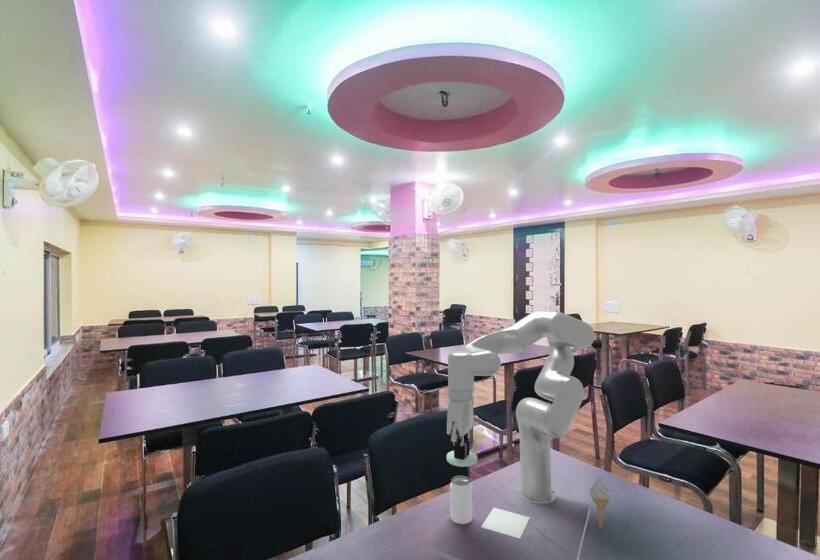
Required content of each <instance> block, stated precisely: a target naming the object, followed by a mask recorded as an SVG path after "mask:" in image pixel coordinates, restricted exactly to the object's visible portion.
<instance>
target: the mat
mask: <svg viewBox="0 0 820 560" xmlns="http://www.w3.org/2000/svg"><path fill="white" fill-rule="evenodd" d="M529 521H530V516H526V515H522V514H520V513H516V512H511V511H507V510H504V509H500V508H497V507H493V508H492V509H491V511H490V512H489V514H488V515H487V517H486V519H485V520H484V522H483V523H482V525H481V526H480V528H483V529H485V530H486V529H487V530H490V531H493V532H495V533H499V534H503V535H506V536H508V537H512V538H516V539H519V540H520V539H521V538H522V535H523V533H524V531H525V529H526V527H527V525H528V522H529Z"/></svg>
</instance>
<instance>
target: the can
mask: <svg viewBox="0 0 820 560" xmlns="http://www.w3.org/2000/svg"><path fill="white" fill-rule="evenodd" d="M450 481H451V482H450V484H449V504H450V506H449V507H450V519H451V521H452V522H454V523H455V524H459V525H460V524H461V525H467V524H469V523H471V522H472V521H473V517H474V516H473V515H474V514H473V487H472V483H471V479H470V478H469V477H467V476H465V475H456V476H453V477H451V479H450Z"/></svg>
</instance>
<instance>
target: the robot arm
mask: <svg viewBox="0 0 820 560" xmlns="http://www.w3.org/2000/svg"><path fill="white" fill-rule="evenodd" d="M595 336H596V335H595V330H594V329H593V327H592V326H591V324H589V323H588V322H586V321H584V320H582V319H578V318H575V317H574V316H571V315H569V314H566V313H564V312H561V311H560V312H559V311H554V310H553V311H552V310H535V311H533V312H531V313H529V314H527V315H526V316H524V317H523V318H521V319H519V320H517V322H515V323H513V324H512V325H511V326H509V327H506V328H504V329H501V330H497V331H495V332H492V333H488V334H485V335H483V336H480V337H479V338H477V339H475V340H473V341H472V342H470V343H468V344H467V345H466V346H464V347H463V348H462V350H455V351H451V352H449V354H448V357H447V378H448V379H447V381H448V382H447V384H448V385H447V388H448V389H447V391H448V394H447V395H448V398H447V399H448V404H447V405H448V406H447V414H446V434H447V435H451V436H450V437H451V438H450V441H451V442H452V445H453V451H454V458H457V459H462V460H464V459H465V446H464V441H465V442H467V455H469V451H470V439H471V438H470V437H471V436H470V433H471V430H472V429H473V427H474V403H473V401H475V377H477V376H478V377H480V376H481V377H490V376H493V375H495V374H497V373H498V372H499V370H500V369H501V367H502V362H501V359H500V357H499V355H503V354H504V355H505V354H516V353H520V352H521V353H522V352H523V351H526V350H527V349H528V348H529V347H532V345H534V344H535V343H537V342H538V341H540V340H541V339H543V338H546V339H547V343H548V348H549V353H548V357H547V360H546V361H545V364H544V365H543V367H542V369H541V371H540V372H539V373H538V377H537V378H536V380H535V383H534V392H535V393H536V394H537V396H539V397H541V398H542V399H545V400H548V401H550V402H552V403H549V402H546V401H544V400H540V399H538V398H536V397H535V398H534V397H524V398H522V399H521V400H520V401H519V402H518V404H517V406H516V409H515V417H516V422H517V426H518V427H517V428H518V433H519V461H520V463H519V464H520V468H519V469H520V485H518V486H517V487H516V490H515V491H516V492H515V493H516V495H517V496H518V497H519V498H520V499H521V500H523V501H526V502H529V503H532V504H537V505H539V504H540V505H543V504H550V503H553V502H555V500H556V499H557V493H556V491H555V490H554V489H553V488H552V462H551V461H552V460H551V439H550V438H552V439H560V438H562V437H564V436H565V434H566V433H567V432H568V431H569V429H570V426H571V425H572V423H573V420H575V419H574V418H575V417H576V415H577V412H578V411H579V409H580V407H581V405H582V402H583V399H584V390H585V389H584V386H583V383H582V382H581V380H579V379H578V378H577V377H575V376H573V375H571V373H572V371H573V369H574V366H575V358H574V355H573V352H572V349H571V348H576V349H587V348H589V347H590V346H592V344H593V343H594V340H595Z"/></svg>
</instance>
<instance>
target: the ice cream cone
mask: <svg viewBox="0 0 820 560" xmlns="http://www.w3.org/2000/svg"><path fill="white" fill-rule="evenodd" d="M589 495H590V496H591V498H592V499H591V501H593V503H595V505H596V512H597V519H598V526H599V527H598V528H599V529H600V530H602V529H603V523H604V515H605V506H606V505H608V504H609V500H610V499H611V496H612V493H610V490H609V488H608V487H607V486H606V484H605V483H604V481H603V480H602V478H601V476H600V475H599V476H598V477H597V480H596V481H595V482H593V484H592V486H591V487H590V488H589Z"/></svg>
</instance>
